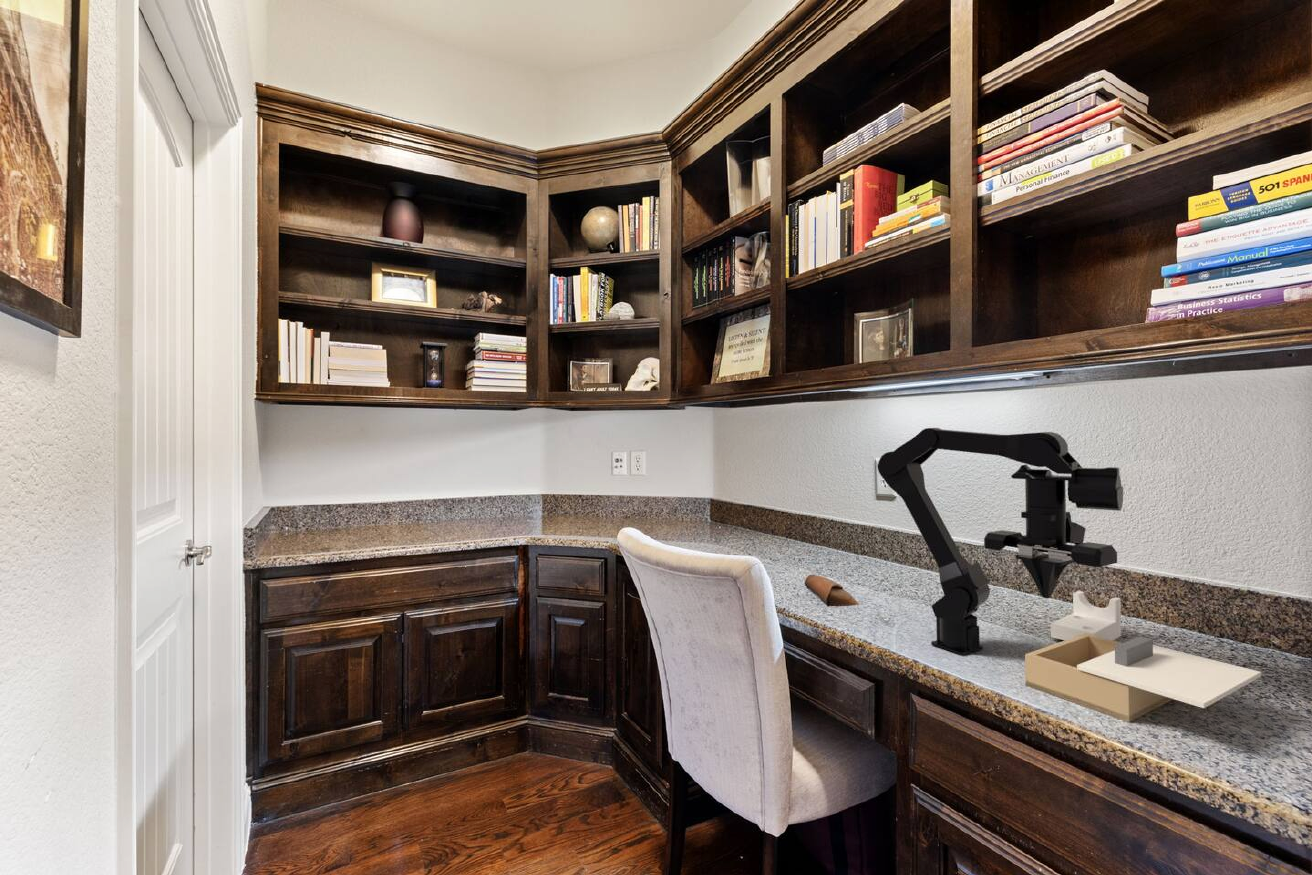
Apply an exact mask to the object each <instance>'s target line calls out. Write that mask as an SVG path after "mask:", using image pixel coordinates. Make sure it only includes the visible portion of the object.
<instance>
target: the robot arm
mask: <svg viewBox="0 0 1312 875" xmlns="http://www.w3.org/2000/svg"><path fill="white" fill-rule="evenodd" d="M1068 448H1069V446H1068V443H1067V441H1066V439H1065V438H1064V437H1062V435H1061V434H1058V433H1057V432H1053V431H1045V432H1044V431H1042V432H1029V433H1017V434H1016V433H1015V434H1013V433H1012V434H1000V433H999V434H997V433H986V432H975V431H963V430H951V429H942V428H939V427H926V428H923V429H922V430H921V431H920V432H919V433H918V434H917V435H915V436H914V437H913V438H911V439H908V441H906V442H905V443H902V444H901V445H899V447H897V448H896V449H895V450H893V451H889V452H885V453H883V454H882V455H881V456H880V458H879V460H878V463H877V470H878V473H879V475H880V476H881V478H882V479H883V480H884V482H885V483H886V485H888V487H889V488H890V489H892V490H893V491H894V492H895V493H896V494H897V495H898V496H899V497H900V498H901V499H902V501H903V503H904V504H905V506H906V508H907V510H908V511H909V514H910V516H911V518H912V519H913V521H914V522H915V525H916V527H917V528H918V531H919V533H920V535H921V536H922V538H923V540H924V541H925V543H926V546H927V548H928V550H929V551H930V553H931V555H932V557H933V559H934V561H935V563H936V565H937V567H938V573H939V583H940V586H941V589H942V592H943V595H944V596H942V597H940V598H939V599H938V600H937V601H936V602H934V603H933V604H931V609H932V611H933V614H934V617H936V618H935V620H936V621H935V622H936V628H935V629H936V640H933V641H931V642H930V644H931V645H932V646H934V647H936V648H940V649H944V650H945V651H948V652H951V653H954V654H958V655H960V656H961V655H962V656H963V655H967V654H969V653H973V652H976V651H980V650H982V649H983V648H984V646H983V645H982V644H980V642H981V641H980V640H981V639H980V626H979V625H978V617H977V616H975V615H974V613H976V612H978V609H979V607H980V606H981V605H983V604H984V603H986V601H987V600H989V596H990V593H991V591H990V587H989V584H990V583H991V581H990V580H989V579H988V578H987V577H986V575H985V574H984V571H983V569H982V567H981V565H980V564H981V563H979V562H978V561H976V562H975V563H972V564H971V563H970V562H969V561H968V560H967V559H966V558H965V557H963V555H962V554H961V552H960V550H959V548H958V547H957V544H956V543H955V541H954V539H953V537H952V535H951V534H950V532H949V530H948V528H947V526H946V524H945V523H944V520H943V519H942V517H941V515H940V513H939V511H938V510H937V508H936V507H935V505H934V503H933V501H932V499H931V497H930V495H929V494H928V492H927V489H926V484H925V474H924V471H923V468H922V466H921V465H922V464H924V463H925V462H926V461H928V459H930V458H931V457H932V456H933V455H934V453H935V452H937V451H938V450H945V451H954V452H955V451H956V452H963V453H964V452H965V453H972V454H973V453H975V454H982V455H992V456H1000V457H1002V458H1006V459H1008V460H1012V461H1015V462H1019V463H1022V465H1021V466H1020V467H1019V468H1018V470H1016V471H1015V472H1013V473H1012V474H1011V476H1010V477H1011V478H1012V479H1015V480H1016V479H1017V480H1024V481H1025V482H1024V485H1025V488H1024V489H1025V511H1021V512H1020V514H1021V519H1025V535H1023V534H1022V533H1021V532H1019V531H1010V530H1004V529H1001V530H996V531H991V532H987V533H986V535H985V536H984V538H983V548H984V549H986V550H993V551H999V552H1000V551H1002V550H1003V549H1005V548H1006V547H1007V548H1009V547H1010V548H1015V549H1018V550H1017V552H1018V554H1015V558H1016V559H1018V560H1020V561H1021V562H1022V564H1023V565H1024V567H1025V568H1026V570H1027V571H1028V573H1029V574H1030V576H1031V578H1032V580H1033V581H1034V584H1035V586H1036V588H1037V589H1038V591H1039V593H1040V595H1041V597H1042V598H1043V599H1044V598H1045V599H1047V600H1048V599H1051V598H1052V596H1053V593H1054V591H1055V588H1056V586H1057V584H1058V581H1059V579H1060V577H1061V576H1062V573H1063V572H1064V570H1065V568H1066V567H1067V566H1068V565H1071V564H1073V563H1075V564H1077V565H1081V566H1082V565H1083V566H1086V567H1087V566H1089V567H1093V568H1102V567H1107V566H1111V565H1114V564H1117V563H1118V551H1116V549H1115V547H1114V546H1113V545H1112V544H1111V545H1110V544H1106V543H1105V544H1104V543H1098V542H1090V541H1088V542H1085V534H1086V530H1087V529H1086V527H1084V526H1083V525H1080V524H1078V523H1076V522H1074V521H1072V514H1071V512H1070V511H1067V510H1066V507H1067V505H1066V502H1067V500H1066V497H1067V499H1068V501H1069V502H1071V503H1072V504H1075V506H1076V508H1077V509H1085V510H1086V509H1088V510H1102V511H1116V512H1117V511H1122V509H1123V502H1124V486H1122V479H1121V476H1120V468H1119V467H1117V466H1116V467H1114V466H1113V467H1112V466H1109V467H1104V468H1103V467H1102V468H1100V467H1099V468H1098V467H1083V466H1081V464H1080V463H1079V462H1078V461H1077V460H1076V459H1075V457H1074V456H1073V455H1072V454H1071V453H1070V452H1069V449H1068ZM1029 466H1033V467H1037V468H1043V467H1045V468H1047V469H1037V468H1036V469H1034V468H1033V469H1032V468H1031V467H1029ZM1052 472H1054V473H1055V474H1057V475H1053V473H1052ZM1058 474H1061V475H1058ZM1063 474H1065V475H1063ZM1066 482H1067V489H1066ZM1066 490H1067V495H1066ZM1073 544H1074V545H1073Z"/></svg>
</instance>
